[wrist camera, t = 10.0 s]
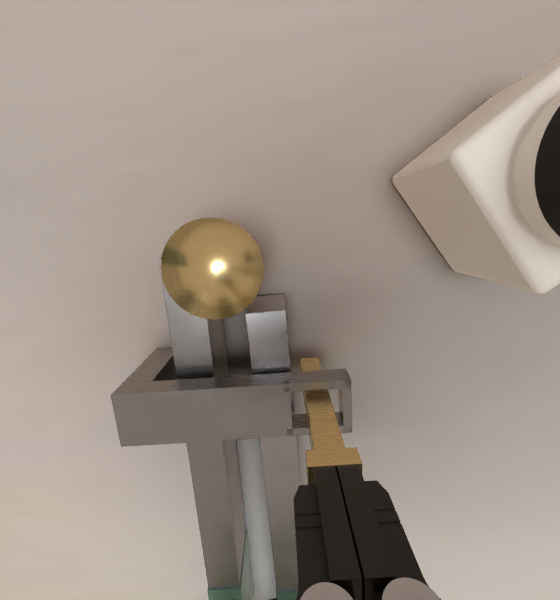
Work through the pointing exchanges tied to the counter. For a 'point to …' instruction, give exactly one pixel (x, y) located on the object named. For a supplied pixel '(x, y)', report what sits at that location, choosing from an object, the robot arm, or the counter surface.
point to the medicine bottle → (496, 186)
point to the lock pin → (323, 429)
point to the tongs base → (214, 390)
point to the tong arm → (276, 440)
